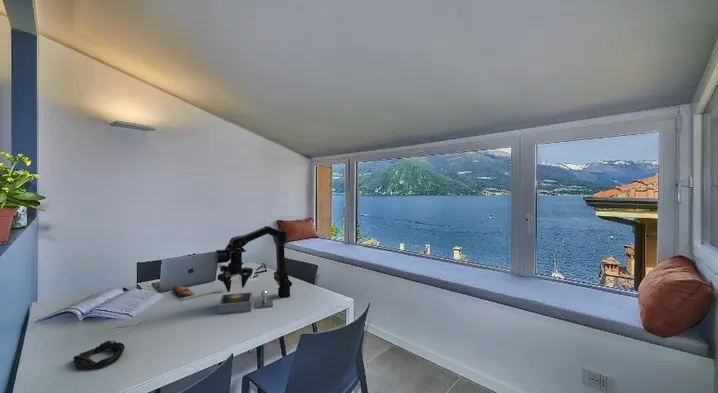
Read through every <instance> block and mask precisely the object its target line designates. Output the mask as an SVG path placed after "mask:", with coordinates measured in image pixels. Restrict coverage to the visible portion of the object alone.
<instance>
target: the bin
mask: <svg viewBox="0 0 718 393" xmlns="http://www.w3.org/2000/svg"><path fill="white" fill-rule="evenodd" d="M235 294H236V293H229V294H228V293H227V294H222V296H221V297H220V299H219V302H218V305H217V315H220V316H221V315H228V314H239V313H247V312H248V313H250V312H251V311H252V304H253V292H241V293H237V294H240V295H244V302H239V303H229V296H232V295H235Z"/></svg>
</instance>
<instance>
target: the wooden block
mask: <svg viewBox="0 0 718 393" xmlns="http://www.w3.org/2000/svg"><path fill="white" fill-rule="evenodd" d="M234 294H235V295H232V296H229V303H239V302H244V295H240V294H238V293H234Z"/></svg>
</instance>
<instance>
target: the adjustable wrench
mask: <svg viewBox="0 0 718 393" xmlns="http://www.w3.org/2000/svg"><path fill="white" fill-rule="evenodd" d="M226 292H227V289H226V288H224V289H223V288H222V287H218V288H214V289H213V290H211V291H207V292H201V293H197V294H195V295H192V296H188V297H183V298H181V297H180V298H179V301H180V302H184V301H187V300H192V299H196V298H197V299H198V298H200V297H204V296H209V295H210V296H211V295H214V294H222V293H226Z"/></svg>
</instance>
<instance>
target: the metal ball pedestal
mask: <svg viewBox="0 0 718 393" xmlns="http://www.w3.org/2000/svg"><path fill="white" fill-rule="evenodd" d="M268 295H269V292H268V290H265V289H264V290H262V291H261V293H260V296H261V297H262V300H256V301H255V309H265V308H266V309H267V308H273V307H274V301H273V299H267V296H268Z"/></svg>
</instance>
